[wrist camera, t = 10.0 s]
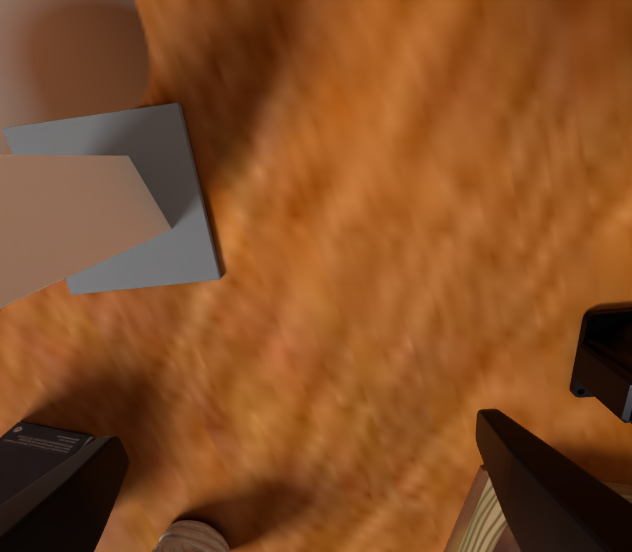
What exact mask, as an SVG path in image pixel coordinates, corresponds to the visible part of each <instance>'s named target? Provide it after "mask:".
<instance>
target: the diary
mask: <svg viewBox="0 0 632 552" xmlns="http://www.w3.org/2000/svg"><path fill="white" fill-rule="evenodd" d="M601 482H603V483H604V484H605V485H607V486H608V487H610V488H611V489H613V490H614V491H615V492H617V493H618V494H620V495H621V496H623V497H624V498H625V499H627V500H628V501H630V502H631V503H632V485H630V484H622V483H614V482H606V481H601ZM444 552H521V550H520V548H519V546H518V544H517V542H516V540H515V538H514V536H513V534H512V532H511V530H510V528H509V526H508V523H507V521H506V519H505V517H504V514H503V512H502V509H501V507H500V504H499V502H498V499H497V496H496V494H495V491H494V488H493V486H492V483H491V480H490V478H489V475H488V473H487V470H486V467H485V466H480V468H479V470H478V472H477V475H476V477H475V479H474V482H473V484H472V486H471V489H470V491H469V493H468V496H467V498H466V500H465V503H464V505H463V507H462V510H461V512H460V514H459V517H458V519H457V521H456V524H455V526H454V528H453V531H452V533H451V535H450V538H449V540H448V542H447V545H446V547H445V550H444Z"/></svg>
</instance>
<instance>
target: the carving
mask: <svg viewBox="0 0 632 552" xmlns="http://www.w3.org/2000/svg"><path fill="white" fill-rule="evenodd" d="M152 552H230V550H229V546H228V544H227V542H226V541H225V539H224V538H223V537H222V535H221V534H219V533H218V532H217V531H216V530H215V529H214V528H212V527H211V526H209V525H207V524H205V523H203V522H199V521H192V520H183V521H177V522H175V523H173V524H172V525H170V526H169V527H168V528H167V529H166V531H165V533H163V534H162V536H161V537H160V539H159V543H158V544H157V545H156V547H155V549H154V550H153V551H152Z"/></svg>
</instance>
